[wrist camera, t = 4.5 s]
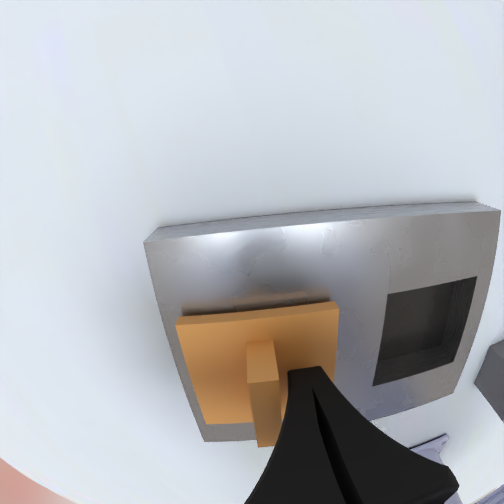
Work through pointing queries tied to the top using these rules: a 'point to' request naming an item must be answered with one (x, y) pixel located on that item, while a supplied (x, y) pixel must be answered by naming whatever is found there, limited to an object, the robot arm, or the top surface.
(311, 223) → the socket plate
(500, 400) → the plug
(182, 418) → the top surface
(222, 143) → the top surface
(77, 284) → the top surface
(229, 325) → the shutter
